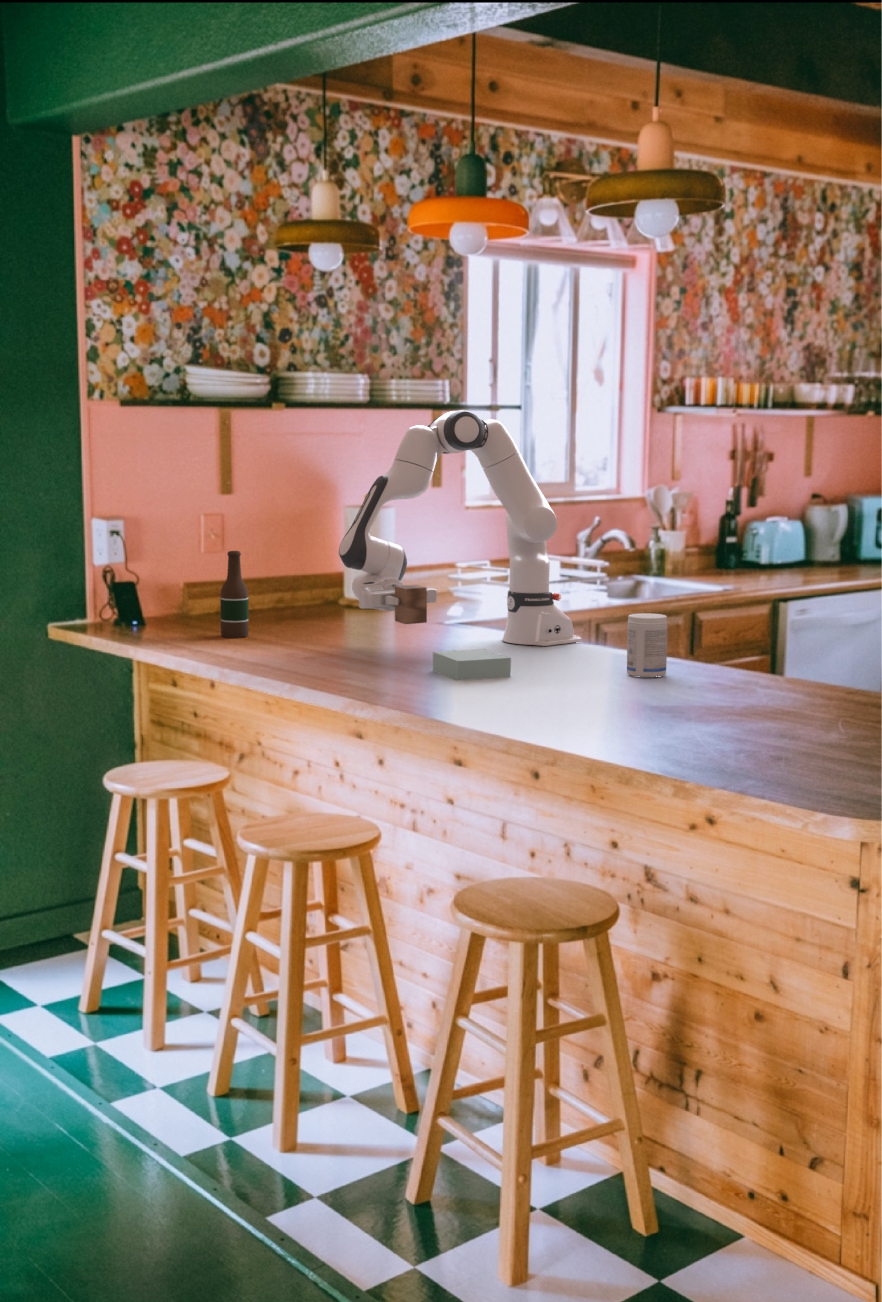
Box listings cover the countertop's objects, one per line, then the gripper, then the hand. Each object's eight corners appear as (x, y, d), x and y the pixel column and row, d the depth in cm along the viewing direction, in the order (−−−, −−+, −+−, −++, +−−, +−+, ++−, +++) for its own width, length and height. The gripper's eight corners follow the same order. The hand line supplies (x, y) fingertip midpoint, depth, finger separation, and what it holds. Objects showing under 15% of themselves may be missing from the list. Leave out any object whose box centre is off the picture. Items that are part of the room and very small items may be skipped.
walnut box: (415, 619, 343) (415, 584, 341) (426, 622, 338) (426, 587, 336) (395, 621, 340) (394, 586, 338) (405, 624, 335) (405, 588, 333)
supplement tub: (670, 674, 325) (672, 614, 323) (660, 680, 316) (663, 619, 314) (631, 670, 329) (633, 611, 326) (621, 676, 320) (623, 616, 318)
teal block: (483, 668, 330) (484, 648, 329) (510, 678, 318) (510, 657, 317) (432, 672, 324) (432, 651, 324) (457, 682, 312) (458, 661, 311)
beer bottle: (254, 636, 375) (254, 550, 371) (236, 639, 368) (235, 552, 364) (233, 633, 379) (232, 549, 375) (214, 636, 372) (214, 551, 368)
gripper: (423, 603, 354) (448, 609, 342) (353, 608, 345) (376, 615, 333) (423, 579, 353) (448, 585, 341) (353, 584, 344) (376, 590, 332)
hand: (412, 600), depth 337 cm, fingers closed on walnut box, 6 cm apart
